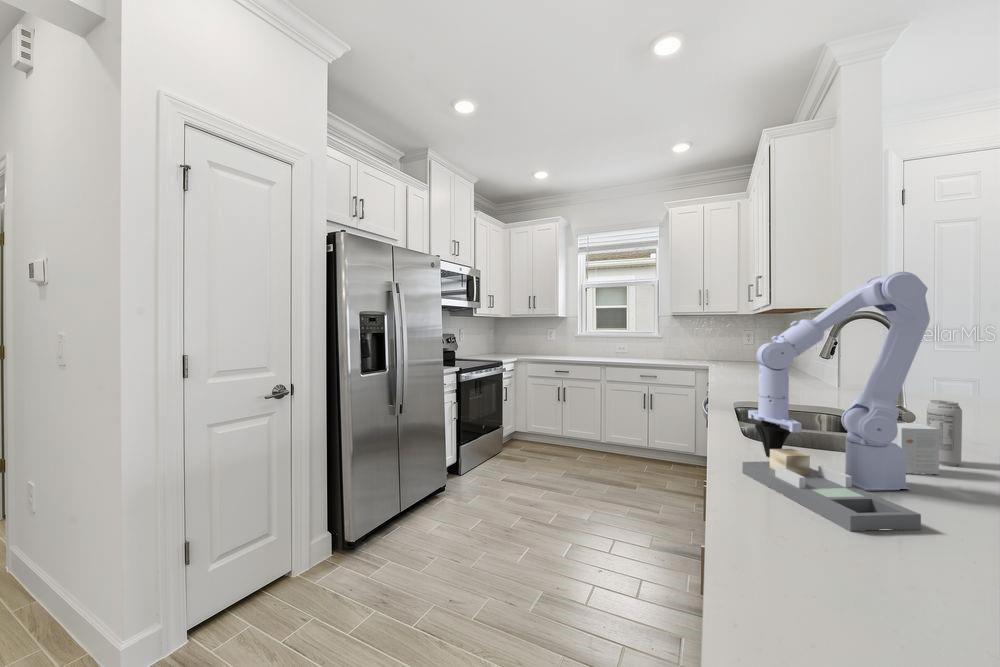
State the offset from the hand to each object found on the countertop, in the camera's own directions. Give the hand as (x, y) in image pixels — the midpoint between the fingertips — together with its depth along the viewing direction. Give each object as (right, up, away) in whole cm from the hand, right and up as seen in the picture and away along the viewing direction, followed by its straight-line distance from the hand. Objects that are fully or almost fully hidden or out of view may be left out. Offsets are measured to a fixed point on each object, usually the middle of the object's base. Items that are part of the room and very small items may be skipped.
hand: (772, 457), depth 96 cm
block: (0, -1, -5) cm, 5 cm away
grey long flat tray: (+1, -4, -13) cm, 13 cm away
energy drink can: (+48, -4, +9) cm, 49 cm away
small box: (+34, -4, +3) cm, 34 cm away
